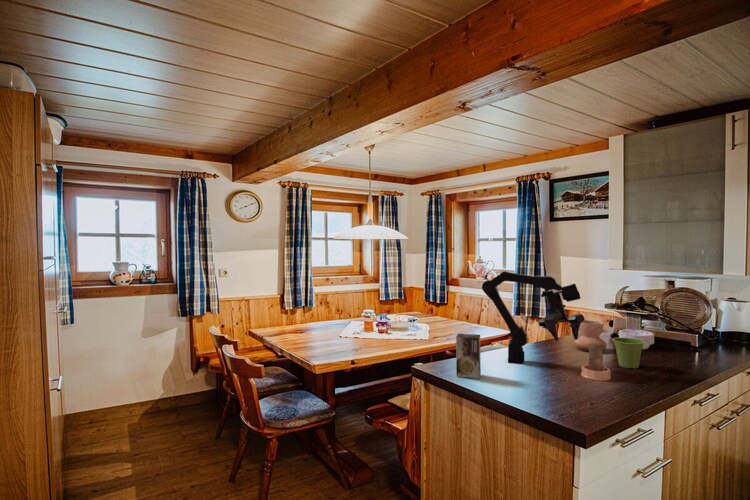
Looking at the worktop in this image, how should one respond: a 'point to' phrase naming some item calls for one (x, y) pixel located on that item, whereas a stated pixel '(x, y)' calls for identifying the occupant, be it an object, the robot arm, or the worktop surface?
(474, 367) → the coffee box
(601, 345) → the tall square post
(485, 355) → the worktop surface
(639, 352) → the plant pot
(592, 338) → the ceramic jug
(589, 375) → the tan shallow dish
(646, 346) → the paper bowls
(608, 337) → the worktop surface
